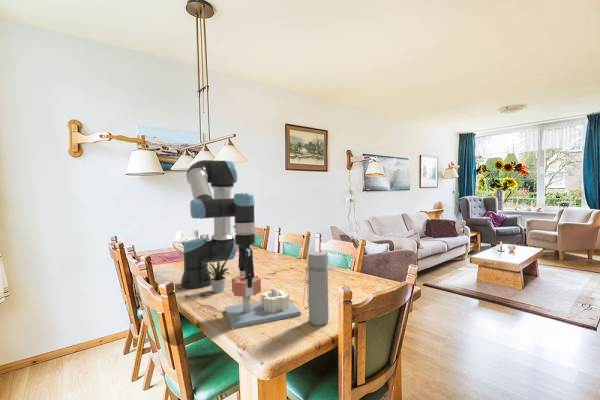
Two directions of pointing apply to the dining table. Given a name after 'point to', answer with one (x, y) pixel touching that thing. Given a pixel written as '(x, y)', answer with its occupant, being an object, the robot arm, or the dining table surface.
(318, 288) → the water bottle
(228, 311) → the board
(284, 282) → the dining table surface
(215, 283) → the house plant
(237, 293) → the gear
